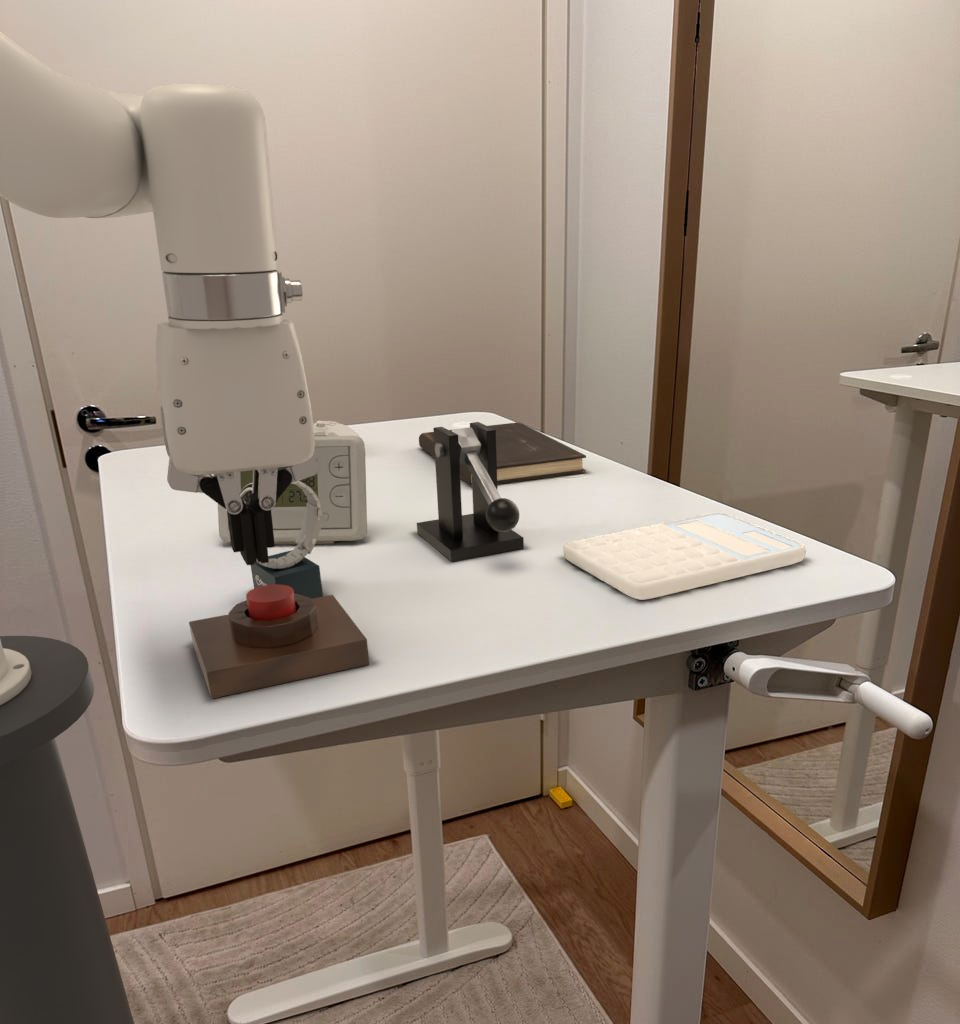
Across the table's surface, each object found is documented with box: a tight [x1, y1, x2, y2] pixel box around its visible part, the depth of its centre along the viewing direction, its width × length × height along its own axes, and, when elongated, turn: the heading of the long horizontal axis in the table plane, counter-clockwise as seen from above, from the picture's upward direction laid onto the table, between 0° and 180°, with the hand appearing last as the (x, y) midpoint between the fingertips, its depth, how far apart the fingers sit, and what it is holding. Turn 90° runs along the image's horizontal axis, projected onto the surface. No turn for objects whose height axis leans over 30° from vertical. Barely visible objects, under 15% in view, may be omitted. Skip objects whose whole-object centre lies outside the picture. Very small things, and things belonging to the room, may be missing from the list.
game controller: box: [313, 420, 360, 437], centre depth 131 cm, size 14×4×10 cm
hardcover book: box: [418, 421, 587, 487], centre depth 125 cm, size 16×23×2 cm
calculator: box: [562, 511, 807, 601], centre depth 87 cm, size 13×20×2 cm, turn 116°
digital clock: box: [217, 435, 368, 546], centre depth 96 cm, size 16×9×11 cm, turn 75°
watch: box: [240, 481, 324, 599], centre depth 81 cm, size 6×8×11 cm
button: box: [245, 584, 296, 620], centre depth 70 cm, size 4×4×2 cm
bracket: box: [416, 421, 525, 562], centre depth 93 cm, size 10×8×12 cm
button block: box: [188, 594, 370, 700], centre depth 71 cm, size 12×10×4 cm
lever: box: [451, 426, 520, 532], centre depth 88 cm, size 13×3×3 cm, turn 23°
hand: (254, 557), depth 68 cm, fingers closed
